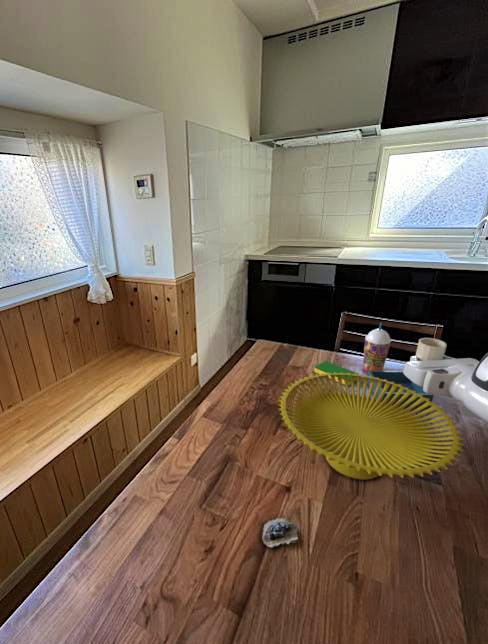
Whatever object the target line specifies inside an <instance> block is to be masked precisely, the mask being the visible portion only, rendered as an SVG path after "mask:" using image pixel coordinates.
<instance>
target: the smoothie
mask: <svg viewBox="0 0 488 644" xmlns="http://www.w3.org/2000/svg"><path fill="white" fill-rule="evenodd" d="M382 325H383V322H379V326H378V328H375V329H372V330H371V331H369V332H368V334H367V335H365V337H364V347H363V358H362V368H363V371H364V372H365V373H366V374H368V370H375V371H384V367H385V364H386V360H387V357H388V353H389V349H390V346H391V343H392V338H391V337H390V334H389V333H388V331H386V330H384V329H382Z"/></svg>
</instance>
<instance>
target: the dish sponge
mask: <svg viewBox="0 0 488 644" xmlns="http://www.w3.org/2000/svg"><path fill="white" fill-rule="evenodd" d="M334 372H335V373H341V372H342V373H346V374H348V372H349V373H350V374H355V373H356V374H358V375H360V374H359V372H356V371H353V370H350V369H348V368H346V367H343V366H341V365H338V364H334V363H332V362H329V361H327V360H324V361H322V362H320V363H319V364H317V365H315V366H314V373H315V374H318V375H321V373H323V374H328V373H334ZM328 377H329V380H330V379H331V380H332V378H331V376H330V375H328ZM341 379H342V384H343V385H345V381H344V376H343V375H341ZM335 380H336V383H337V382H338V383H339V381H338V378H337V375H335ZM355 382H357V376H355V378H354V383H355ZM348 386H349V387H350V386H351V379H350V375H348Z"/></svg>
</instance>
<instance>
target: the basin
mask: <svg viewBox="0 0 488 644" xmlns="http://www.w3.org/2000/svg"><path fill="white" fill-rule="evenodd" d="M370 375H371V376H372V377H374V378H377V377H378V378H379V379H382V380H385V379H386V380H387V381H389V382H394V383H395V384H397V385H400V384H401V386H403V387H406V388H407V387H409V388H408V389H409V390H411V391H416V393H417V394H421V395H423V396H422V397H424V398H429V399H430V400H429V401H430V402H433V399H434V397H435V394H428V393H426V392H424V391H423V387H421V386H418V385H416V384H415V383H414V382H412V381H411V380H410V379H408V378H407V377H406V376H405V375H404V373H403V370H383V371H375V370H368V373H367V375H366V376H370ZM370 383H371V378H369V380H368V383H367V386H368V387H369V388H370ZM385 383H386V382H383V383H382V385H381V388H380V390H379V392H378V395H377V398H376V401H377V400H378V398H379V396H380V395H381V393H382V390H383V388H384V386H385ZM377 384H378V380H376V381H375V384H374V387H373V390H372V394H373V395H374V393H375V390H376V387H377ZM392 386H393V384H390V386H389V387H388V389H387V391H386V392H385V394H384V396H383V398H382V401H381V402H383V401H384V399H385V398H386V396H387V395H388V393H389V391H390V390H391V388H392ZM399 389H400V387H397V388H396V390H395V391H394V392H393V394H392V395H391V397H390V398H389V400H388V401H387V403H386V405H387V404H388V403H389V402H390V401H391V400H392V398H393V397H394V396H395V395H396V393H397V392H398V390H399ZM406 392H407V390H404V391H403V392H402V393H401V394H400V395H399V396H398V398H397V399H396V400H395V401H394V403H393V404H392V406H393V405H394V404H396V403H397V402H398V401H399V400H400V399H401V398H402V396H403V395H404V394H405V393H406ZM413 395H414V394H413V393H411V394H410V395H409V396H408V397H407V398H406V399H404V400H403V401H402V402H401V403H400V405H399V406H398V407H400V406H402V405H403V404H404V403H405V402H407V401H408V400H409V399H410V398H411V397H412V396H413ZM419 399H420V397H417V398H416V399H414V400H413V401H412V402H410V403H409V404H408V405H407V406H406V407H407V408H408V407H410V406H411V405H412V404H414V403H415V402H416V401H418V400H419ZM426 402H427V401H423V402H421V403H420V404H418V405H417V406H415V407H414V408H419V407H420V406H422V405H423V404H425V403H426ZM392 406H391V407H392ZM406 407H405V408H406ZM430 407H432V405H429V406H427V407H425V408H424V409H429V408H430Z"/></svg>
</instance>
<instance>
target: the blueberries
mask: <svg viewBox="0 0 488 644" xmlns="http://www.w3.org/2000/svg"><path fill="white" fill-rule="evenodd" d="M289 521H290V519H289V518H288V517H278V518H277V517H276V518H275V519H274V518H273V519H272V520H268V521H267V522H266V523H264V525H263V527H262V531H263V532H262V536H261V540H262V542H263V544H264V545H266V546H267V547H269V548H274V547H279V546H280V545H281V544H282V546H283V545H284V544H286V545H290V543H291V544H295V543H297V542H298V540H299V534H298V527H297V526H294V523H293V522H289Z"/></svg>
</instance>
